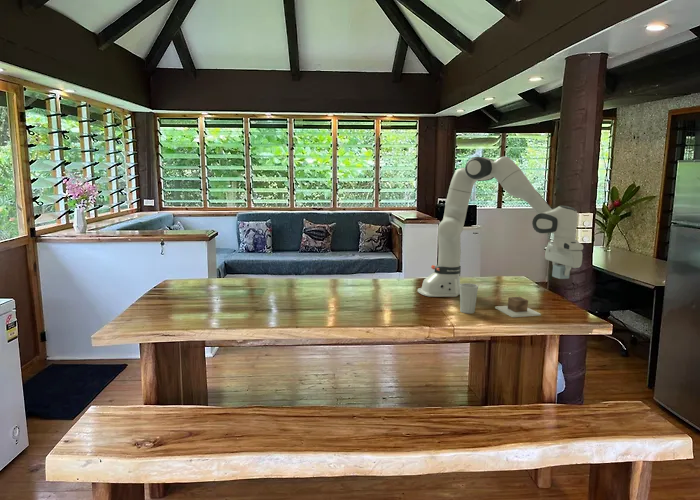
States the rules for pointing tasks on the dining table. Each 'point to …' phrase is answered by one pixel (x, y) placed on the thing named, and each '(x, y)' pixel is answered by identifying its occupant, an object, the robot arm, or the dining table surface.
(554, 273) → the grey cube
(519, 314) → the plate
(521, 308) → the walnut block
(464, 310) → the cup
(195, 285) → the dining table surface
